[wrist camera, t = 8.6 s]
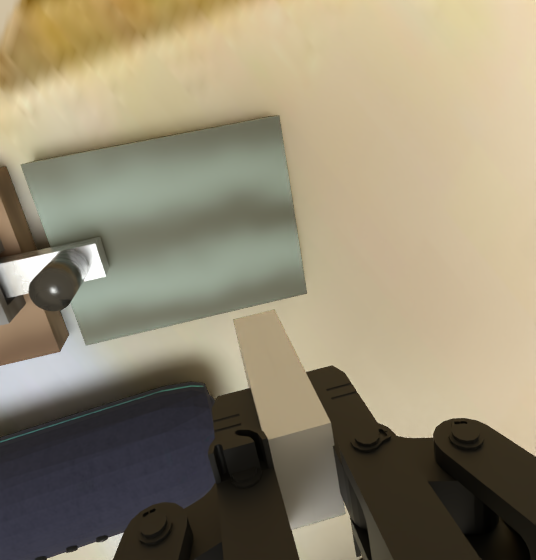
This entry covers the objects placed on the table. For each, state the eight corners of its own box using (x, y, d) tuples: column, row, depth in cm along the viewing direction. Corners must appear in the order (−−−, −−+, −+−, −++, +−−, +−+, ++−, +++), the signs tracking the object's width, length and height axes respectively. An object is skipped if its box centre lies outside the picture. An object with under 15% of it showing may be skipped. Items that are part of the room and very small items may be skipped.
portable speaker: (-21, 521, 42) (-78, 633, 33) (-75, 438, 39) (-156, 538, 29) (236, 436, 44) (251, 519, 35) (207, 350, 41) (215, 417, 32)
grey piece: (109, 267, 33) (92, 302, 27) (-32, 298, 32) (-86, 343, 26) (99, 236, 32) (79, 265, 26) (-46, 267, 31) (-105, 305, 25)
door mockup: (298, 281, 40) (319, 310, 34) (-82, 369, 37) (-135, 419, 30) (271, 116, 35) (290, 114, 29) (-171, 199, 32) (-255, 218, 26)
